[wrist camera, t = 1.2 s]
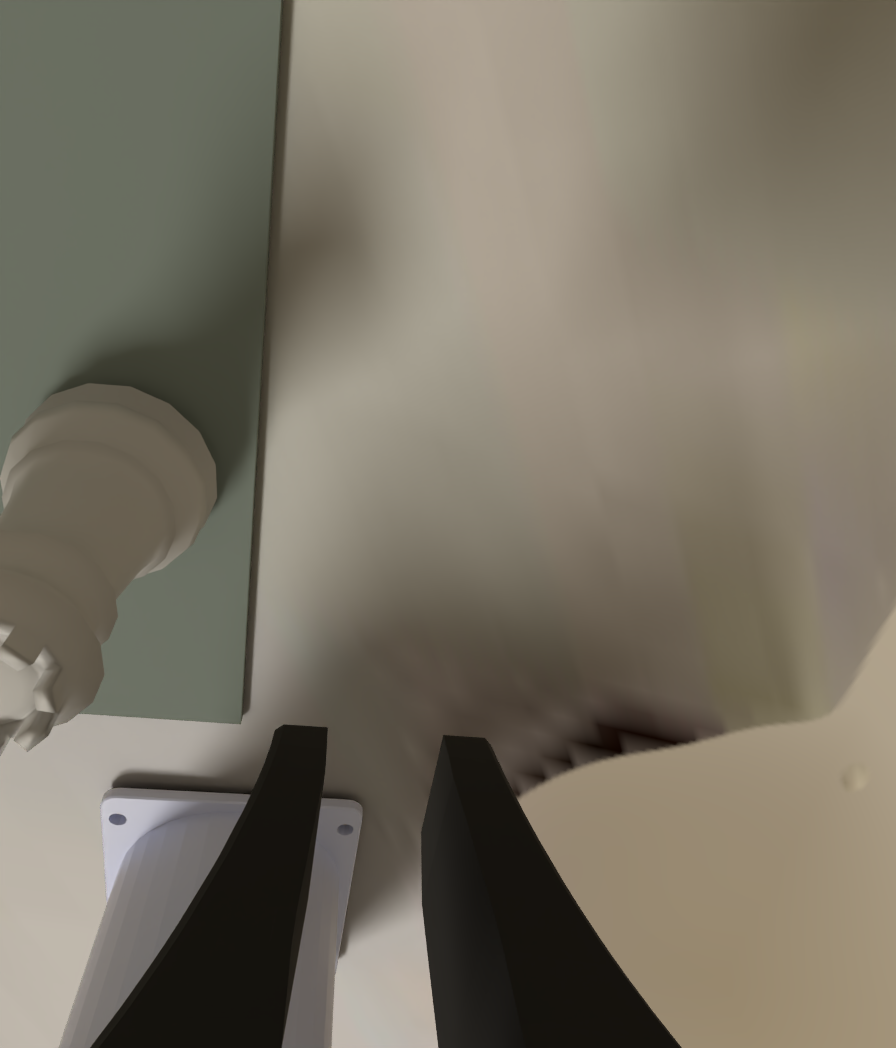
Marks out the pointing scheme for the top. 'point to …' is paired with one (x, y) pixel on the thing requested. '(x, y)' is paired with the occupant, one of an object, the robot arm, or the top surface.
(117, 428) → the rook chess piece
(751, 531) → the top surface
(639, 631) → the top surface
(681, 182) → the top surface
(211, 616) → the mat
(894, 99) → the top surface
